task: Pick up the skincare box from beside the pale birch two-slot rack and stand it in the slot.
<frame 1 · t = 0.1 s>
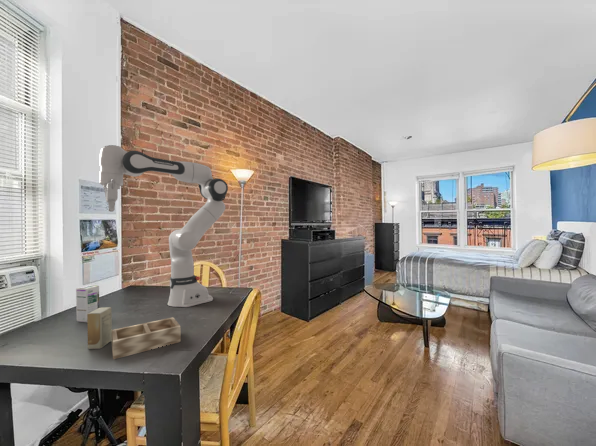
hand: (111, 211, 118), 48 cm above the table, tool pointing down, fingers open, 8 cm apart
skincare box: (99, 345, 90), on the table
slot rack: (146, 343, 90), on the table
syrup box: (88, 320, 113), on the table
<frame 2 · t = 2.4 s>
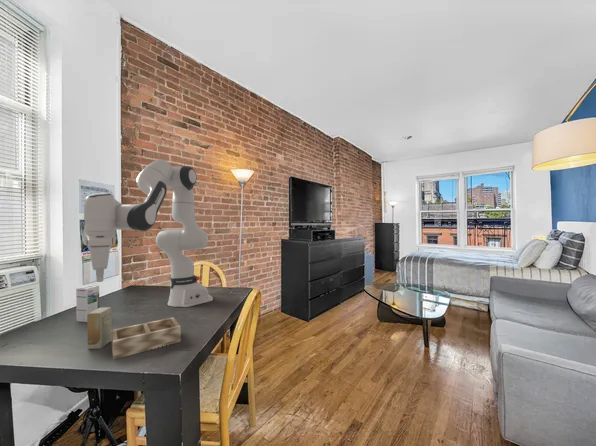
hand: (99, 279, 90), 23 cm above the table, tool pointing down, fingers open, 8 cm apart
nothing on the table moved.
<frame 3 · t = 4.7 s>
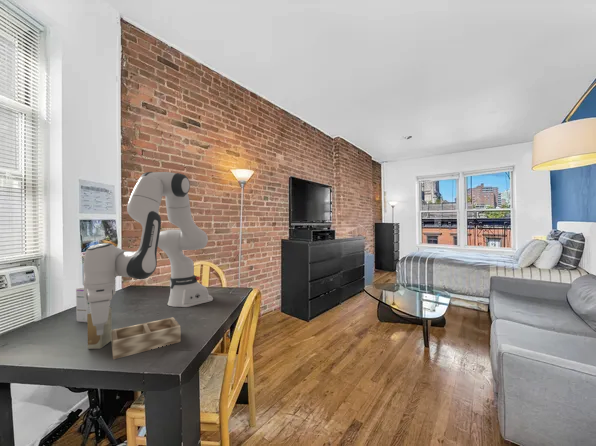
hand: (99, 330, 90), 5 cm above the table, tool pointing down, fingers closed on skincare box, 7 cm apart
skincare box: (99, 345, 90), on the table, touching gripper
everything else where it was.
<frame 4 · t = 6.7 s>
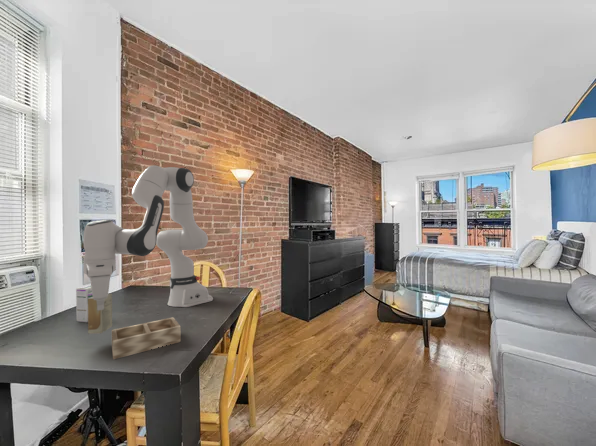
hand: (100, 306, 90), 13 cm above the table, tool pointing down, fingers closed on skincare box, 7 cm apart
skincare box: (100, 331, 90), point 5 cm above the table, touching gripper
everything else where it was.
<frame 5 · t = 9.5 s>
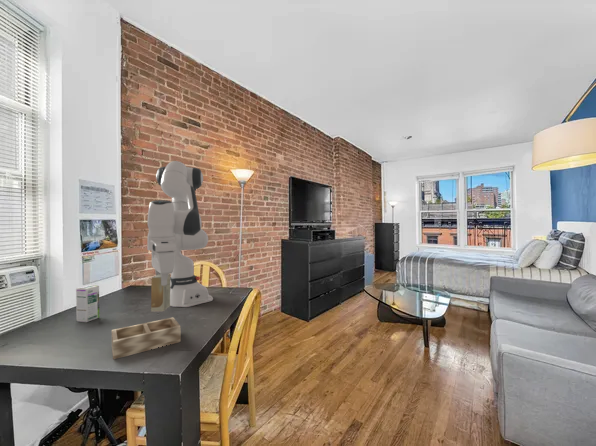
hand: (161, 282, 93), 21 cm above the table, tool pointing down, fingers closed on skincare box, 7 cm apart
skincare box: (160, 309, 93), point 11 cm above the table, touching gripper
everything else where it was.
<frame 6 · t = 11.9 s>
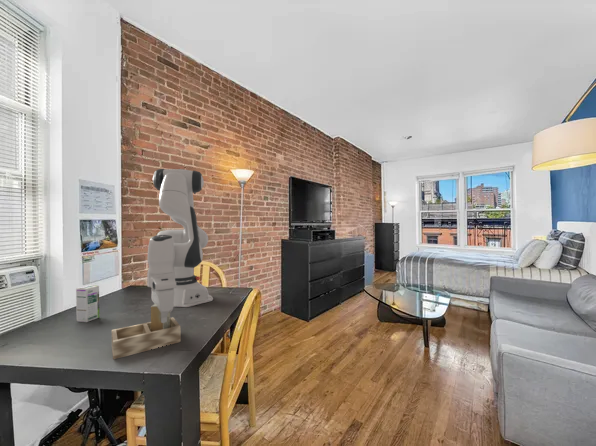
hand: (161, 318, 93), 8 cm above the table, tool pointing down, fingers closed on skincare box, 7 cm apart
skincare box: (160, 337, 93), point 1 cm above the table, touching gripper, slot rack
everything else where it was.
when the fingers open (8 cm above the table, at t = 12.9 s): skincare box stays where it is, resting on slot rack.
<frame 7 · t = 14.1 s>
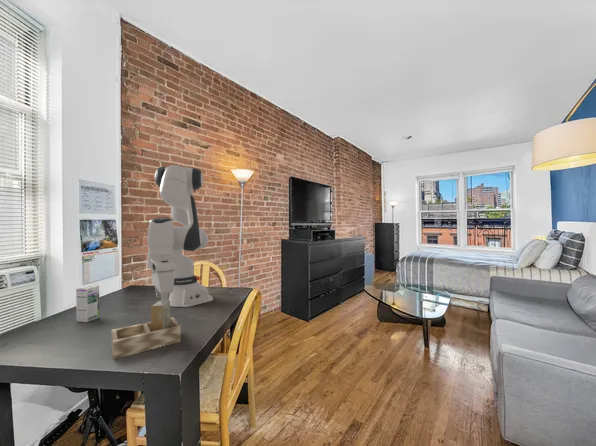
hand: (161, 300, 94), 14 cm above the table, tool pointing down, fingers open, 8 cm apart
skincare box: (160, 337, 93), point 1 cm above the table, touching slot rack
everything else where it was.
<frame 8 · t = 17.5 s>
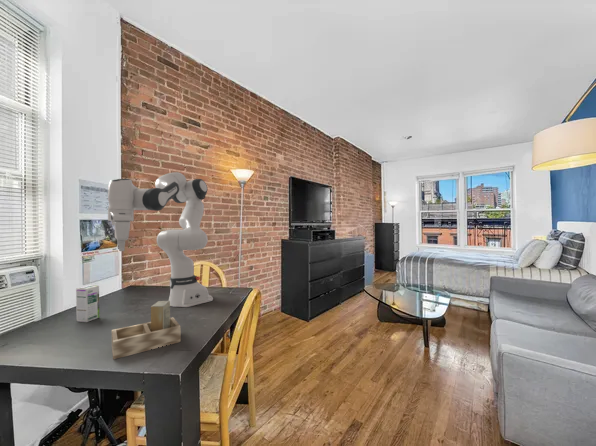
hand: (121, 250, 107), 31 cm above the table, tool pointing down, fingers open, 8 cm apart
nothing on the table moved.
at the end: skincare box 0.4 cm from the target spot on the slot rack, point 1.1 cm above the slot rack's base; skincare box tilted 0°; the gripper is holding nothing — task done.
